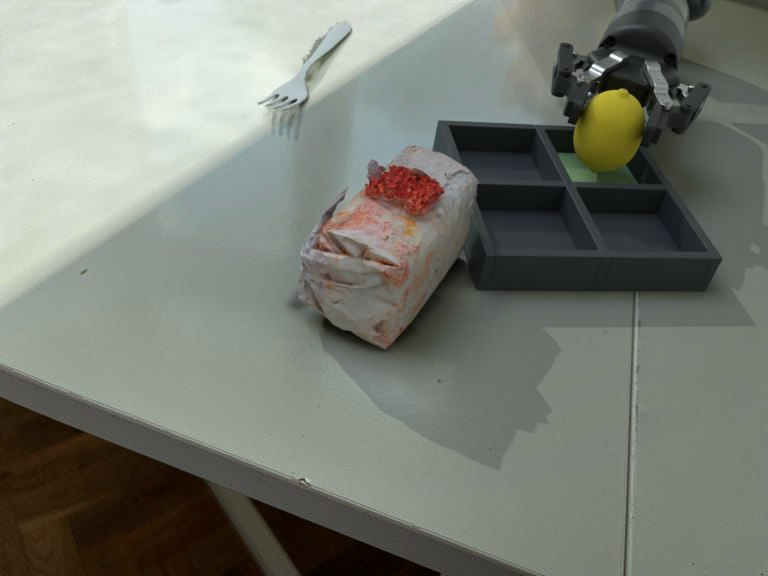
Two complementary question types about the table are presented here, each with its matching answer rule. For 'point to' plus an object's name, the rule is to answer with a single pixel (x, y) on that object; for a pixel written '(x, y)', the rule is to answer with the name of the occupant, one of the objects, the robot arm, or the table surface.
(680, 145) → the table surface
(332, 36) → the fork
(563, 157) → the dark grey compartment tray
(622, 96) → the lemon
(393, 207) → the food item
